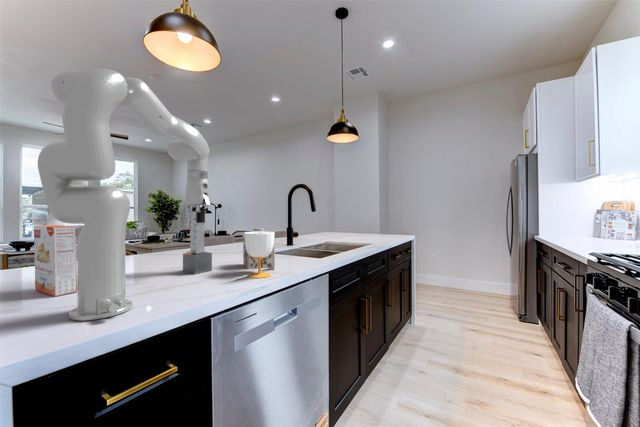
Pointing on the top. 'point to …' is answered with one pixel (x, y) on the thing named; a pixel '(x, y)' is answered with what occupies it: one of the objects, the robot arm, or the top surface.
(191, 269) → the stand base
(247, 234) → the cup
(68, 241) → the cracker box
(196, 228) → the column
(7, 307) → the top surface
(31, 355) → the top surface
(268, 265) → the decorative jar
